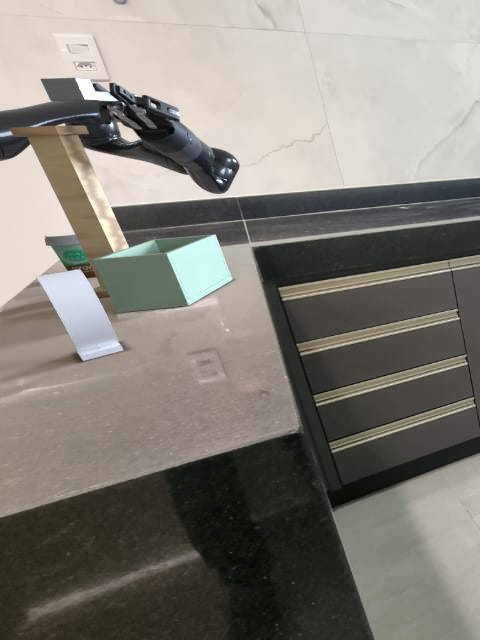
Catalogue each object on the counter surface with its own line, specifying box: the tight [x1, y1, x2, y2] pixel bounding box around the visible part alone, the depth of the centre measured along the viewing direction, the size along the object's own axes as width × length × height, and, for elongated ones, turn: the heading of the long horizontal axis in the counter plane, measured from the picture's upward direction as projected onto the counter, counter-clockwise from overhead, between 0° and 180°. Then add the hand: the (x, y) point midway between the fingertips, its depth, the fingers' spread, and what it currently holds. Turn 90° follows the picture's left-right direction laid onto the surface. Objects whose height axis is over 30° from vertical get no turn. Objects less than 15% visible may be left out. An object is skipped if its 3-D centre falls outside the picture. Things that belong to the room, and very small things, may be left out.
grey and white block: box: [40, 77, 121, 102], centre depth 92 cm, size 14×5×3 cm, turn 14°
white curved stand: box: [36, 269, 124, 362], centre depth 77 cm, size 5×6×12 cm
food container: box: [44, 234, 96, 279], centre depth 124 cm, size 12×6×10 cm, turn 122°
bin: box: [92, 233, 233, 314], centre depth 105 cm, size 19×12×10 cm, turn 13°
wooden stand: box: [10, 125, 130, 299], centre depth 106 cm, size 9×9×32 cm
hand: (103, 87), depth 94 cm, fingers closed on grey and white block, 2 cm apart
